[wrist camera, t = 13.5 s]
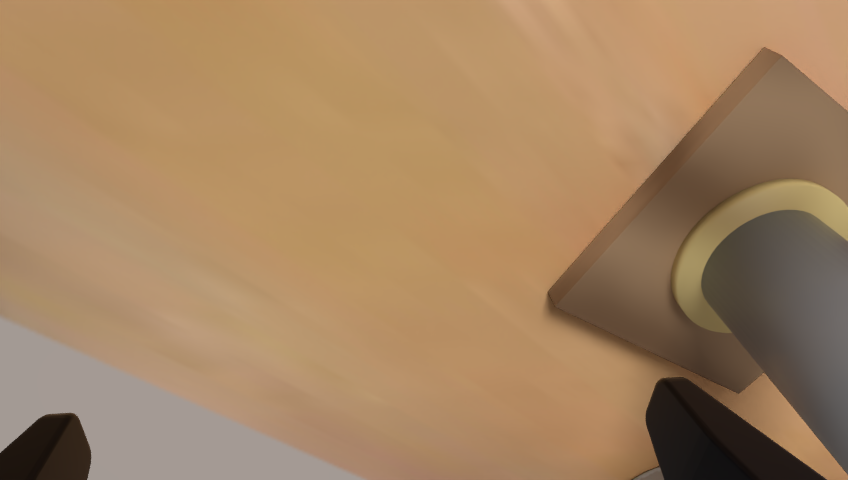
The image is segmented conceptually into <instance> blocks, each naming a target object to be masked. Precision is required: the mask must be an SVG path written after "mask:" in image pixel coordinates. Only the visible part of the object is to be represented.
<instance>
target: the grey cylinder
mask: <svg viewBox="0 0 848 480" xmlns="http://www.w3.org/2000/svg"><path fill="white" fill-rule="evenodd" d="M701 288H702V293H703V295H704V298H705V300H706V301H707V302H708V304H709V305H710V306H711V308H712V309H713V310H714V311H715V312H716V314H717V315H718V316H719V317H720V319H721V320H722V321H723V322H724V323H725V325H726V326H727V327H728V328H729V330H730V331H731V332H732V333H733V335H734V336H735V337H736V338H737V339H738V341H739V342H740V343H741V344H742V346H743V347H744V348H745V349H746V350H747V352H748V353H749V354H750V355H751V357H752V358H753V359H754V360H755V362H756V363H757V364H758V365H759V366H760V368H761V369H762V370H763V371H764V373H765V374H766V375H767V376H768V377H769V379H770V380H771V381H772V382H773V384H774V385H775V386H776V387H777V388H778V390H779V391H780V392H781V393H782V395H783V396H784V397H785V398H786V400H787V401H788V402H789V403H790V404H791V406H792V407H793V408H794V409H795V411H796V412H797V413H798V414H799V415H800V417H801V418H802V419H803V420H804V422H805V423H806V424H807V425H808V427H809V428H810V429H811V430H812V431H813V433H814V434H815V435H816V436H817V438H818V439H819V440H820V441H821V442H822V444H823V445H824V446H825V447H826V449H827V450H828V451H829V452H830V454H831V455H832V456H833V457H834V458H835V460H836V461H837V462H838V463H839V465H840V466H841V467H842V468H843V469H844V471H845V472H846V473H847V474H848V241H847V240H846V239H844V238H843V237H842V236H841V235H839V234H838V233H837V232H835V231H834V230H833V229H831V228H830V227H829V226H828V225H826V224H825V223H824V222H822V221H821V220H820V219H819V218H817V217H816V216H814V215H812V214H811V213H808V212H805V211H800V210H779V211H774V212H770V213H767V214H764V215H761V216H758V217H756V218H754V219H752V220H750V221H748V222H746V223H744V224H743V225H741V226H740V227H738V228H737V229H735V230H734V231H733V232H731V233H730V234H729V235H728V236H727V237H726V238H725V239H723V240H722V242H721V243H720V244H719V245H718V246H717V247H716V248H715V250H714V251H713V253H712V254H711V256H710V257H709V259H708V261H707V263H706V265H705V267H704V271H703V274H702V280H701Z"/></svg>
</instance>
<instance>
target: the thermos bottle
mask: <svg viewBox="0 0 848 480" xmlns="http://www.w3.org/2000/svg"><path fill="white" fill-rule="evenodd" d="M632 480H664V478H663V475H662V472H661V469H660V467H657V468H654V469H652V470H650V471H647V472H645V473H643V474H641V475H639V476H638V477H636V478H634V479H632Z"/></svg>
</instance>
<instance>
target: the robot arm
mask: <svg viewBox="0 0 848 480" xmlns="http://www.w3.org/2000/svg"><path fill="white" fill-rule="evenodd" d="M646 425H647V429H648V432H649V435H650V438H651V441H652V444H653V447H654V450H655V453H656V456H657V460H658V463H659V466H660V469H661V472H662V475H663V478H664V480H827V479H825V478H824V477H823V476H821V475H820V474H818V473H817V472H816V471H814V470H813V469H812V468H810V467H809V466H807V465H806V464H805V463H803V462H802V461H800V460H799V459H798V458H796V457H795V456H793V455H792V454H791V453H789V452H788V451H787V450H785V449H784V448H782V447H781V446H780V445H778V444H777V443H775V442H774V441H773V440H771V439H770V438H769V437H767V436H766V435H764V434H763V433H762V432H760V431H759V430H757V429H756V428H755V427H753V426H752V425H750V424H749V423H748V422H746V421H745V420H744V419H742V418H741V417H739V416H738V415H737V414H735V413H734V412H732V411H731V410H730V409H728V408H727V407H726V406H724V405H723V404H721V403H720V402H719V401H717V400H716V399H714V398H713V397H712V396H710V395H709V394H707V393H706V392H705V391H703V390H702V389H701V388H699V387H698V386H696V385H695V384H694V383H692V382H691V381H689V380H688V379H686V378H683V377H673V378H662V379H660V380H659V381H658V382H657V383H656V386H655V388H654V391H653V394H652V397H651V399H650V402H649V405H648V407H647V410H646ZM90 464H91V450H90V446H89V444H88V441H87V438H86V436H85V433H84V430H83V428H82V425H81V423H80V420H79V418H78V416H76V415H75V414H73V413H60V414H48V415H45V416H43V417H41V418H39V419H38V420H37V421H36V422H35V423H34V424H32V426H30V427H29V428H28V429H27V430H26V431H25V432H23V433H22V434H21V435H20V436H19V437H18V438H17V439H15V440H14V441H13V442H12V443H11V444H10V445H9V446H8V447H7V448H5V449H4V450H3V451H2V452H1V453H0V480H87V478H88V474H89V469H90Z"/></svg>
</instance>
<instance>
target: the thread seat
mask: <svg viewBox="0 0 848 480" xmlns="http://www.w3.org/2000/svg"><path fill="white" fill-rule="evenodd" d="M779 210H800V211H805V212H808V213H811V214H812V215H814V216H816V217H817V218H819V219H820V220H821V221H822V222H824V223H825V224H826V225H828V226H829V227H830V228H831V229H833V230H834V231H835V232H837V233H838V234H839V235H841V236H842V237H843V238H844V239H846V240H847V241H848V111H847V110H845V109H844V108H843V107H842V106H841V105H840V104H838V103H837V102H836V101H835V100H834V99H832V98H831V97H830V96H829V95H828V94H827V93H825V92H824V91H823V90H822V89H821V88H820V87H818V86H817V85H816V84H815V83H814V82H813V81H811V80H810V79H809V78H808V77H807V76H806V75H804V74H803V73H802V72H801V71H800V70H799V69H797V68H796V67H795V66H794V65H793V64H792V63H790V62H789V61H788V60H787V59H786V58H785V57H783V56H782V55H780V54H778V53H776V52H774V51H772V50H770V49H767V48H765V47H764V48H763V49H762V50H761V51H760V53H759V54H758V55H757V56H756V57H755V58H754V59H753V61H752V62H751V63H750V64H749V65H748V66H747V67H746V68H745V70H744V71H743V72H742V73H741V74H740V75H739V76H738V77H737V79H736V80H735V81H734V82H733V83H732V84H731V85H730V87H729V88H728V89H727V90H726V91H725V92H724V93H723V94H722V96H721V97H720V98H719V99H718V100H717V101H716V102H715V103H714V105H713V106H712V107H711V108H710V109H709V110H708V111H707V113H706V114H705V115H704V116H703V117H702V118H701V119H700V120H699V122H698V123H697V124H696V125H695V126H694V127H693V128H692V129H691V131H690V132H689V133H688V134H687V135H686V136H685V137H684V138H683V140H682V141H681V142H680V143H679V144H678V145H677V146H676V148H675V149H674V150H673V151H672V152H671V153H670V154H669V155H668V157H667V158H666V159H665V160H664V161H663V162H662V163H661V164H660V166H659V167H658V168H657V169H656V170H655V171H654V172H653V174H652V175H651V176H650V177H649V178H648V179H647V180H646V181H645V183H644V184H643V185H642V186H641V187H640V188H639V189H638V190H637V192H636V193H635V194H634V195H633V196H632V197H631V198H630V200H629V201H628V202H627V203H626V204H625V205H624V206H623V207H622V209H621V210H620V211H619V212H618V213H617V214H616V215H615V216H614V218H613V219H612V220H611V221H610V222H609V223H608V224H607V225H606V227H605V228H604V229H603V230H602V231H601V232H600V233H599V235H598V236H597V237H596V238H595V239H594V240H593V241H592V242H591V244H590V245H589V246H588V247H587V248H586V249H585V250H584V251H583V253H582V254H581V255H580V256H579V257H578V258H577V259H576V261H575V262H574V263H573V264H572V265H571V266H570V267H569V268H568V270H567V271H566V272H565V273H564V274H563V275H562V276H561V277H560V279H559V280H558V281H557V282H556V283H555V284H554V285H553V287H552V288H551V289H550V290H549V291H548V293H549V295H550V298H551V300H552V302H553V304H554V306H555V307H556V308H558V309H561V310H563V311H565V312H567V313H569V314H571V315H573V316H575V317H577V318H580V319H582V320H584V321H586V322H588V323H590V324H592V325H594V326H597V327H599V328H601V329H603V330H605V331H607V332H609V333H611V334H613V335H616V336H618V337H620V338H622V339H624V340H626V341H628V342H630V343H632V344H635V345H637V346H639V347H641V348H643V349H645V350H647V351H649V352H651V353H654V354H656V355H658V356H660V357H662V358H664V359H666V360H668V361H671V362H673V363H675V364H677V365H679V366H681V367H683V368H685V369H687V370H690V371H692V372H694V373H696V374H698V375H700V376H702V377H704V378H706V379H709V380H711V381H713V382H715V383H717V384H719V385H721V386H723V387H726V388H728V389H730V390H732V391H734V392H736V393H738V394H739V393H740V392H741V391H743V390H744V389H745V388H746V387H747V386H749V385H750V384H751V383H752V382H753V381H754V380H756V379H757V378H758V377H759V376H760V375H762V374H763V373H764V371H763V370H762V369H761V368H760V366H759V365H758V364H757V363H756V362H755V360H754V359H753V358H752V357H751V355H750V354H749V353H748V352H747V350H746V349H745V348H744V347H743V346H742V344H741V343H740V342H739V341H738V339H737V338H736V337H735V336H734V335H733V333H732V332H731V331H730V330H729V328H728V327H727V326H726V325H725V323H724V322H723V321H722V320H721V319H720V317H719V316H718V315H717V314H716V312H715V311H714V310H713V309H712V308H711V306H710V305H709V304H708V302H707V301H706V300H705V298H704V295H703V293H702V288H701V280H702V274H703V271H704V267H705V265H706V263H707V261H708V259H709V257H710V256H711V254H712V253H713V251H714V250H715V248H716V247H717V246H718V245H719V244H720V243H721V242H722V240H723V239H725V238H726V237H727V236H728V235H729V234H730V233H731V232H733V231H734V230H735V229H737V228H738V227H740V226H741V225H743V224H744V223H746V222H748V221H750V220H752V219H754V218H756V217H758V216H761V215H764V214H767V213H770V212H774V211H779Z"/></svg>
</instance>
